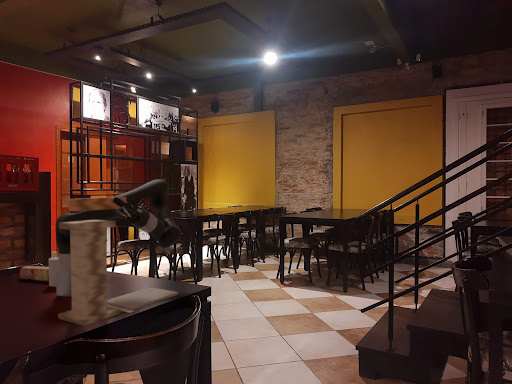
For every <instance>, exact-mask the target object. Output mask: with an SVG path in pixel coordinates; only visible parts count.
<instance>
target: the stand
mask: <svg viewBox="0 0 512 384" xmlns="http://www.w3.org/2000/svg"><path fill="white" fill-rule="evenodd" d="M115 227H117V221H116V220H85V221H74V222H63V223H59V229H69V230H70V247H71V294H72V296H71V309H70V310H67V311H63V312H61V313H58V314H57V315H58V317H57V319H59V320H62V321H65V322H69V323H73V324H75V325H79V326H83V327H85V326H88V325H91V324H94V323H97V322H99V321H102V320H105V319H108V318H112V317H113V316H117V315H120V314H121V313H122V311H121V309H119V307H118V308H114V307H110V306H107V300H108V274H107V273H108V271H107V268H108V267H107V263H108V262H107V228H115Z"/></svg>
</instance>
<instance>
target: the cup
mask: <svg viewBox="0 0 512 384" xmlns="http://www.w3.org/2000/svg"><path fill="white" fill-rule="evenodd" d="M48 267H49V282H48V285H49V286H48V287H54V288H55V287H56V288H57V285H56V272H58V256H54V257H50V258H48Z"/></svg>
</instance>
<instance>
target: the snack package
mask: <svg viewBox="0 0 512 384" xmlns="http://www.w3.org/2000/svg"><path fill="white" fill-rule="evenodd" d="M19 276H20V279H22V280H28V279H31V280H30V281H37V280H38V281H39V282H40V281H41V282H48V283H49V266H38V265H36V266H32V265H31V266H30V265H26V266H22V267H21V268H20V273H19ZM38 281H37V282H38Z"/></svg>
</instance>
